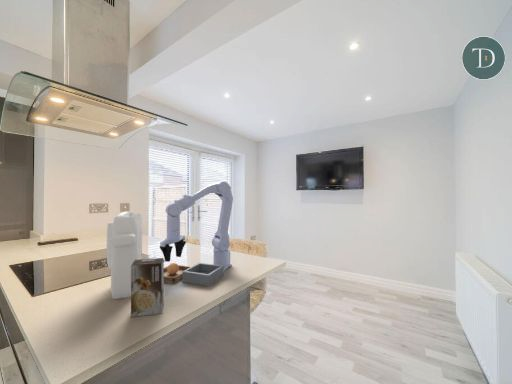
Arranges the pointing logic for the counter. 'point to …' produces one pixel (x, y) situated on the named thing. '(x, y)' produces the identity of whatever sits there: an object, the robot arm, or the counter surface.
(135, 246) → the white tall piece
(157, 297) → the coffee box
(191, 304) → the counter surface
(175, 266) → the ball
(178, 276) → the tray
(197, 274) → the bin
